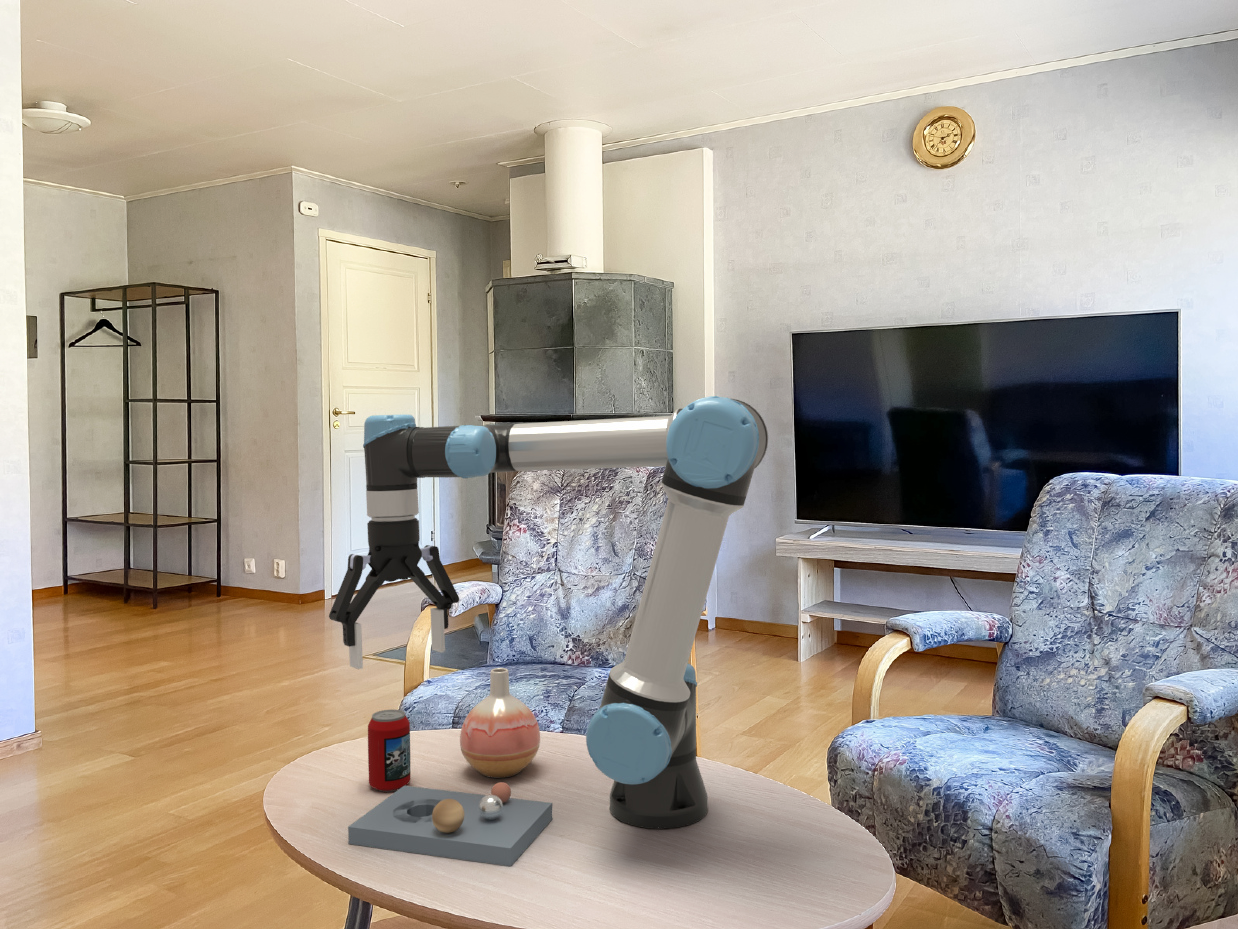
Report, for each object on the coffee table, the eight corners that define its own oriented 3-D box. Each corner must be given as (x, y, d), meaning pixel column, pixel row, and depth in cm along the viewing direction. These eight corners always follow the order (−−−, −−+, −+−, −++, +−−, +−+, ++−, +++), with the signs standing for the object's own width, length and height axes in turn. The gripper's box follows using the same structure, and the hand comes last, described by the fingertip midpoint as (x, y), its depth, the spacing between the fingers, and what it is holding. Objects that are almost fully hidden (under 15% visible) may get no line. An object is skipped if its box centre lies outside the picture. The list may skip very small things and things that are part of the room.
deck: (552, 819, 146) (552, 802, 145) (510, 866, 130) (510, 848, 130) (404, 801, 153) (404, 785, 153) (348, 844, 137) (348, 826, 137)
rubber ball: (514, 799, 147) (514, 780, 147) (506, 807, 144) (506, 787, 144) (496, 797, 148) (495, 778, 147) (487, 805, 145) (487, 785, 145)
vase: (498, 752, 175) (497, 656, 174) (556, 768, 167) (555, 667, 166) (443, 775, 164) (441, 672, 163) (503, 793, 156) (501, 685, 155)
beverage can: (400, 795, 155) (399, 721, 155) (361, 792, 156) (360, 719, 156) (417, 780, 162) (416, 709, 161) (379, 777, 163) (378, 707, 162)
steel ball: (506, 815, 141) (506, 792, 141) (497, 825, 137) (496, 801, 137) (484, 813, 142) (484, 789, 142) (474, 822, 138) (474, 798, 138)
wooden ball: (469, 827, 137) (469, 795, 137) (455, 840, 133) (455, 808, 133) (441, 823, 138) (440, 792, 138) (426, 836, 134) (425, 804, 134)
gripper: (452, 510, 155) (457, 641, 156) (301, 524, 139) (308, 670, 139) (477, 512, 149) (482, 648, 150) (323, 527, 133) (330, 679, 134)
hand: (398, 659), depth 145 cm, fingers open, 13 cm apart
